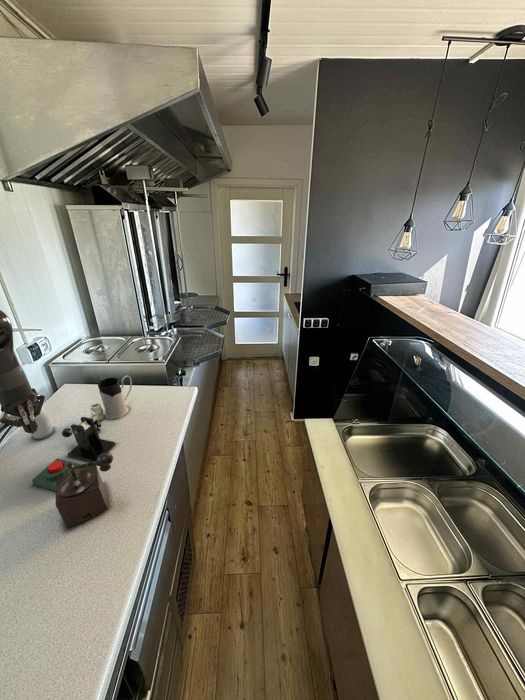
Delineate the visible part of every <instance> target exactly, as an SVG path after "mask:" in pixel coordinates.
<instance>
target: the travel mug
mask: <svg viewBox="0 0 525 700" xmlns="http://www.w3.org/2000/svg"><path fill="white" fill-rule="evenodd" d="M31 389H32V392H33V393H35V395H36V394H38V393H37V390H36V388H32V387H31ZM49 419H50V418H49V417H48V415H47V412H46V410H45V408H44V405H43V406H42V409H41V412H40V414H39V415H38V416H36V417H35V421H36V424H37V426H38V428H37V431H36V432H34V433H33V434H31V435H32V437H33V439H35V440H44V439H46V438H48V437H50V436H51V435H52V434H53V433H54V429H53V426H52V423H51V421H50V420H49Z"/></svg>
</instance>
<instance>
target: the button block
mask: <svg viewBox="0 0 525 700" xmlns="http://www.w3.org/2000/svg"><path fill="white" fill-rule="evenodd" d="M55 461H61V462H62V464H63V469H62V470H61V471H59V472H57V473H54V474H51V473H50V471H49V469H48V466H46V467H45V468H44V469H42V471H41V472H40V473H38V474H37V475H36V476H35V477H33V478H32V479H31V482H32V484H33V485H34V486H37V487H40V488H43V489H46V490H49V491H54V492H56V478H58V477H61V476H63V475H66V474H69V473H71V472H70V471H68V467H67V463H69V462H71V463H72V465H73V466H77V465H81V464H82V463H78V462H74V461H70V460H66V459H62V458H58V457H57V458H55V460H54V461H52V462H51V463H53V462H55ZM79 469H81V468H79ZM79 469H74V471H76V470H79Z"/></svg>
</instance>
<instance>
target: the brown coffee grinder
mask: <svg viewBox="0 0 525 700" xmlns="http://www.w3.org/2000/svg"><path fill="white" fill-rule="evenodd" d="M113 460H114V456H113V455H112V453H111V452H107V453H102V454H100V455H99V456H98V458H97V462H86V463H80V464H81V465H77V466H73V465H72V463H71V462H72V461H70V462H69V463H67V467H68V471H70V472H71V473H69V474H66V475H63V476H61V477H58V478H56V491H55V507H56V509H57V510H58V513H59V515H60V517H61V518H62V520H63V522H64V524H65V526H66V528H67V529H70V528H72V527H74V526H77V525H79V524H81V523H83V522H87V521H88V520H90V519H92V518H94V517H95V516H97V515H99V514H101V513H103V512H105V511H106V510H108V508H109V501H108V493H107V488H106V485H105V483H104V481H103V479H102V477H101V474H100V472H99V471H101V472H108V471H110V470H111V467H112V463H113ZM98 467H99V469H98ZM79 468H81V469H79ZM74 469H79V470H76V471H74Z"/></svg>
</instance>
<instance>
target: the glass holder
mask: <svg viewBox="0 0 525 700" xmlns="http://www.w3.org/2000/svg"><path fill="white" fill-rule="evenodd" d="M127 377H128V378H129V390H128V392H127V394H126V396H124V393H123V390H122V389H123V388H124V380H125V378H127ZM97 387H98V390H99V391H98V392H99V395H100V398H101V401H102V405H103V408H104V411H105V417H106V418H107V419H109V420H116V419H120V418H123V417H124V416H125V415H127V414H128V412H129V407H128V406H127V403H126V401H127V399H128V397H129V396H130V393H131V391H132V388H133V380H132V377H131V376H129V375H124V376H123V377H122V378H121V382H120V380H119V379H118V378H117V377H108V378H105V379H102V380H100V381H99V382H98V383H97Z"/></svg>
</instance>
